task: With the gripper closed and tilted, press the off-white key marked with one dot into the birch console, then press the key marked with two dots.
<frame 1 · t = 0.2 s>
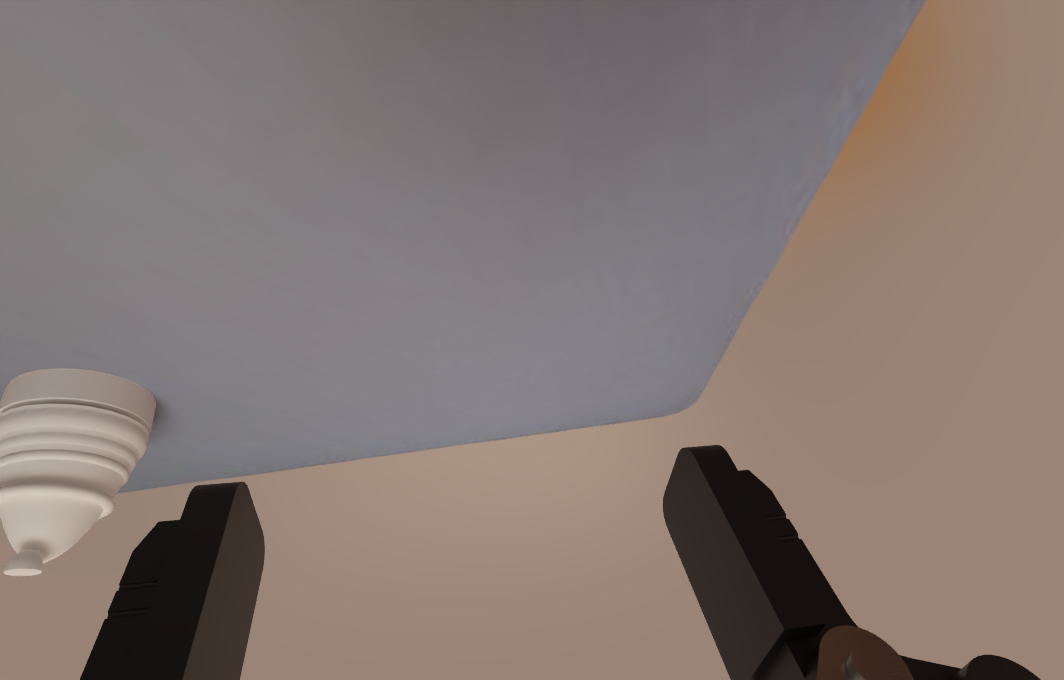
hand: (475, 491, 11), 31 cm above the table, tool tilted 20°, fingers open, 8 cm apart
honey pot: (85, 397, 61), on the table
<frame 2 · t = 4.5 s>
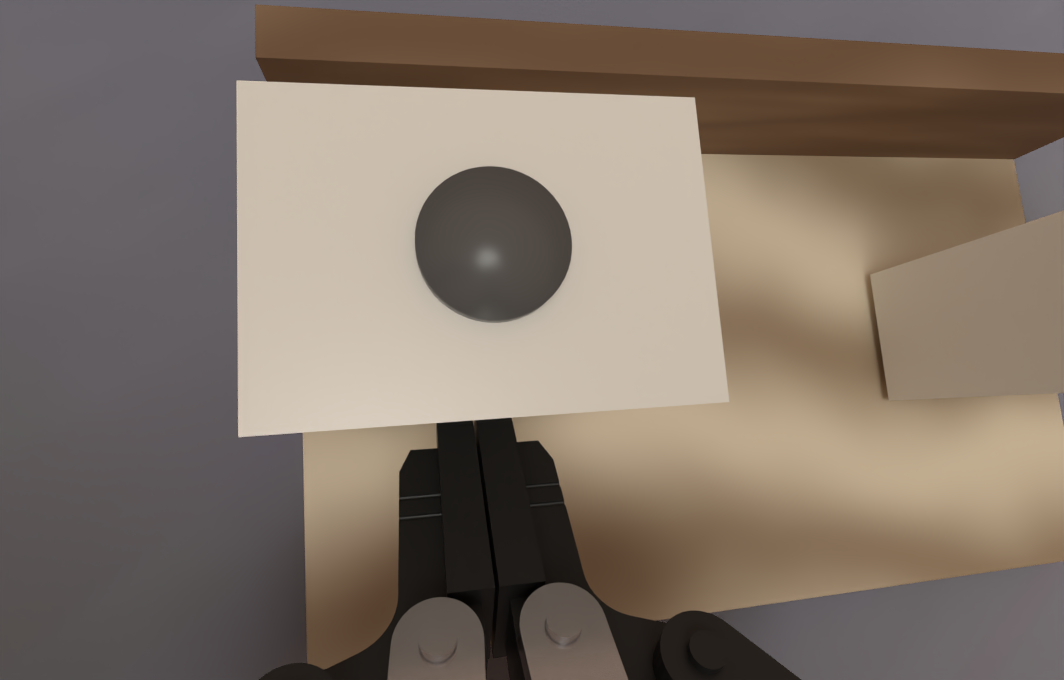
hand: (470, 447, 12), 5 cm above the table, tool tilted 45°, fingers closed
key one: (466, 314, 11), point 6 cm above the table, slide at 0.3 cm, touching gripper
console: (706, 349, 18), on the table
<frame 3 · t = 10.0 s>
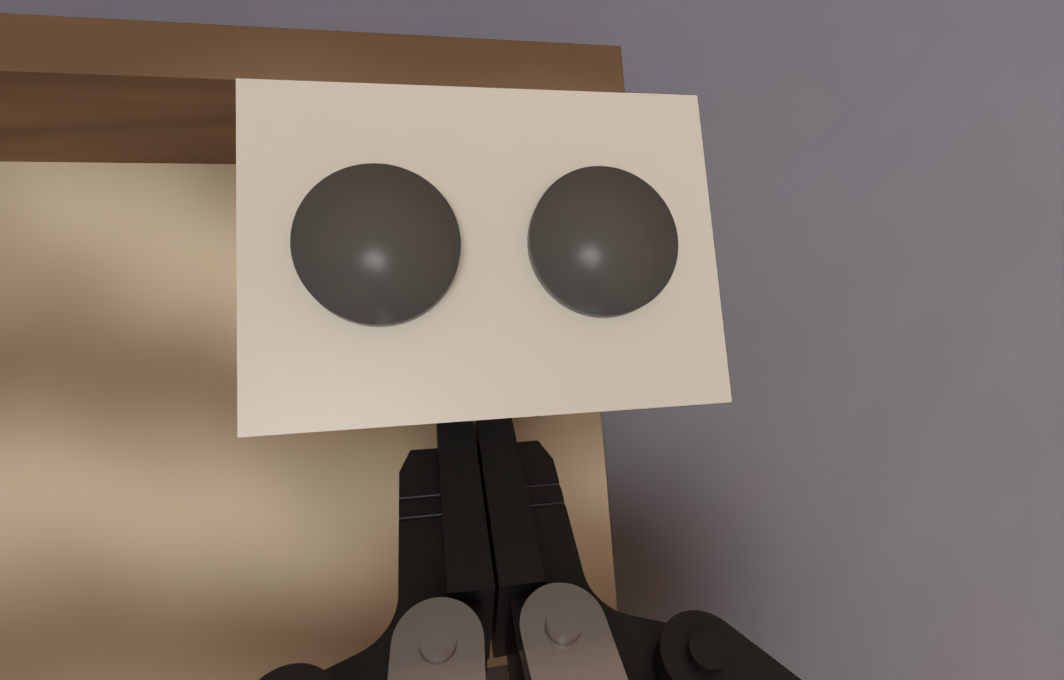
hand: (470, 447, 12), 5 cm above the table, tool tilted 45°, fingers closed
key two: (467, 314, 11), point 6 cm above the table, slide at 0.9 cm, touching gripper
console: (150, 399, 15), on the table
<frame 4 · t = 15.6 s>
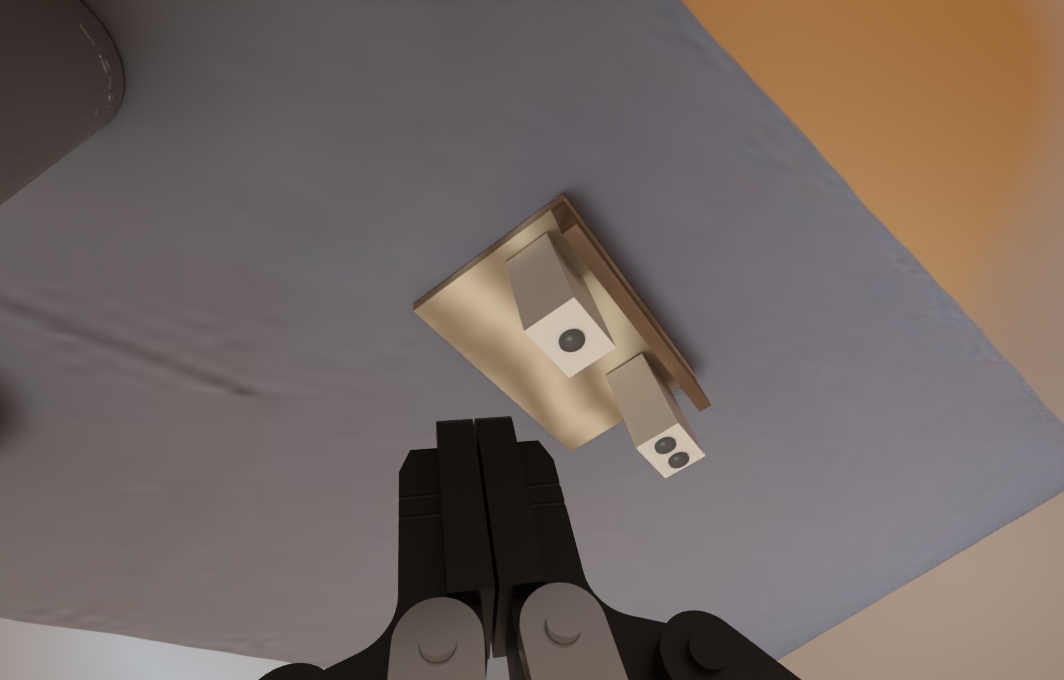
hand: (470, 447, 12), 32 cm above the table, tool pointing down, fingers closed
key two: (653, 415, 51), point 6 cm above the table, slide at 2.8 cm
key one: (557, 303, 42), point 6 cm above the table, slide at 2.8 cm
console: (566, 339, 52), on the table
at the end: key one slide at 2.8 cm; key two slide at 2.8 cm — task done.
